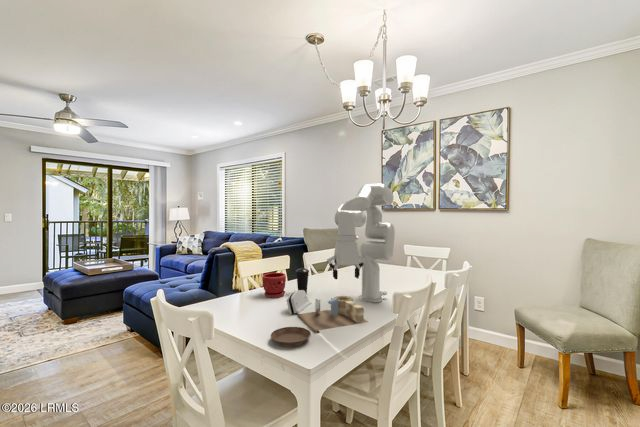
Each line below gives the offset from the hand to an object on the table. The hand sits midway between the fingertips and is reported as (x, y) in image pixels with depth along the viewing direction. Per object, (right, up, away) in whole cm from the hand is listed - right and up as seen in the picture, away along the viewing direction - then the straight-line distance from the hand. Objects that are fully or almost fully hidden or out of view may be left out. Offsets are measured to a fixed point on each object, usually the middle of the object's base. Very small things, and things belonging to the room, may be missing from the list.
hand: (346, 278), depth 135 cm
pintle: (-12, -19, +5) cm, 23 cm away
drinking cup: (-22, -18, +44) cm, 52 cm away
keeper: (-6, -19, +3) cm, 20 cm away
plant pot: (-37, -18, +40) cm, 58 cm away
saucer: (-22, -19, -20) cm, 36 cm away
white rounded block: (-22, -19, +16) cm, 33 cm away
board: (-6, -19, +1) cm, 20 cm away
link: (+2, -18, +5) cm, 18 cm away
